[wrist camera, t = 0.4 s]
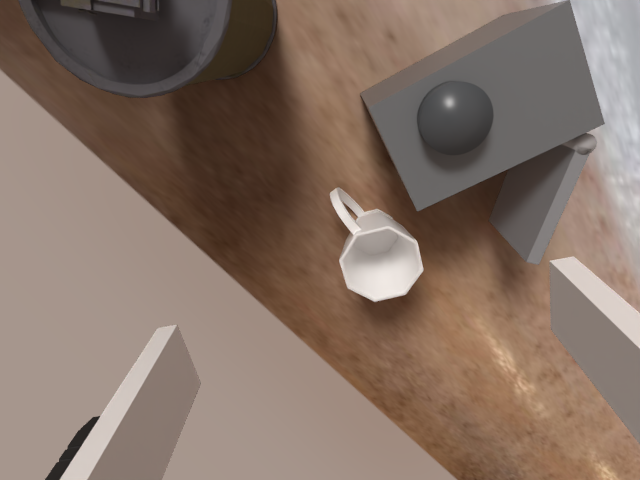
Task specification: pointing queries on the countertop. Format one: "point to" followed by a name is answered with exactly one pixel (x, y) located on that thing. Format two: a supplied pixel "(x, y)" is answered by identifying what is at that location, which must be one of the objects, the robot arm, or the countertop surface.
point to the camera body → (486, 102)
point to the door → (539, 196)
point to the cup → (376, 252)
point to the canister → (153, 40)
